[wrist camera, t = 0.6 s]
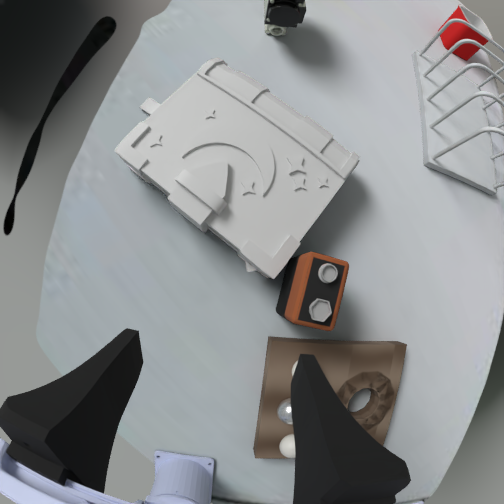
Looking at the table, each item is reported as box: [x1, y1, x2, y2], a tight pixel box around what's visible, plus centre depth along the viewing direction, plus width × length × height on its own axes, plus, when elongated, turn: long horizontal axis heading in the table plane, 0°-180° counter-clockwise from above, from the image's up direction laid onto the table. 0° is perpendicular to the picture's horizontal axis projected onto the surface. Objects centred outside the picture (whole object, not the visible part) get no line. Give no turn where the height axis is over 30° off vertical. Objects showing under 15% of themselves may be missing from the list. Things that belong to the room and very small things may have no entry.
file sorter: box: [412, 19, 504, 195], centre depth 34 cm, size 25×17×16 cm
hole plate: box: [253, 336, 407, 458], centre depth 34 cm, size 16×18×2 cm
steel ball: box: [277, 398, 293, 424], centre depth 30 cm, size 3×3×3 cm
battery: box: [276, 252, 349, 331], centre depth 31 cm, size 4×7×10 cm, turn 165°
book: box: [114, 58, 360, 279], centre depth 33 cm, size 19×28×8 cm
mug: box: [438, 5, 493, 60], centre depth 39 cm, size 12×8×11 cm
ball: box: [279, 434, 295, 458], centre depth 30 cm, size 3×3×3 cm
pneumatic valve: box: [264, 0, 306, 36], centre depth 33 cm, size 6×12×12 cm, turn 179°
